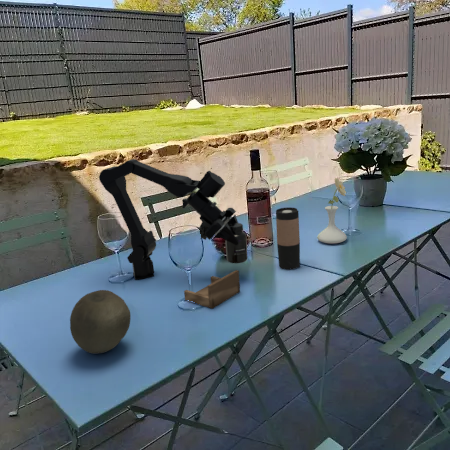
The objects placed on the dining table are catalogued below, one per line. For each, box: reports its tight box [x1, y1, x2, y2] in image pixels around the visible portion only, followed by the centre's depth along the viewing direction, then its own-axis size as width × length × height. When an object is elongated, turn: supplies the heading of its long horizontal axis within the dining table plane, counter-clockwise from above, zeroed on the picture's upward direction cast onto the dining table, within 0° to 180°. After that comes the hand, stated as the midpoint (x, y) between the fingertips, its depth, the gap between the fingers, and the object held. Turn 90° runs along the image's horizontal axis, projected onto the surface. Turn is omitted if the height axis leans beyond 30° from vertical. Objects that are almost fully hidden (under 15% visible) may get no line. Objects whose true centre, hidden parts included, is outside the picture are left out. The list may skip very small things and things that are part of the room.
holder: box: [183, 269, 241, 310], centre depth 130 cm, size 11×13×7 cm
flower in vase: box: [316, 177, 348, 244], centre depth 167 cm, size 13×11×25 cm
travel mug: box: [275, 207, 301, 271], centre depth 146 cm, size 8×8×20 cm
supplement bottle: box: [225, 222, 248, 264], centre depth 139 cm, size 7×7×12 cm
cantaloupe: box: [69, 289, 131, 355], centre depth 105 cm, size 14×14×15 cm
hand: (240, 240), depth 138 cm, fingers closed on supplement bottle, 7 cm apart
